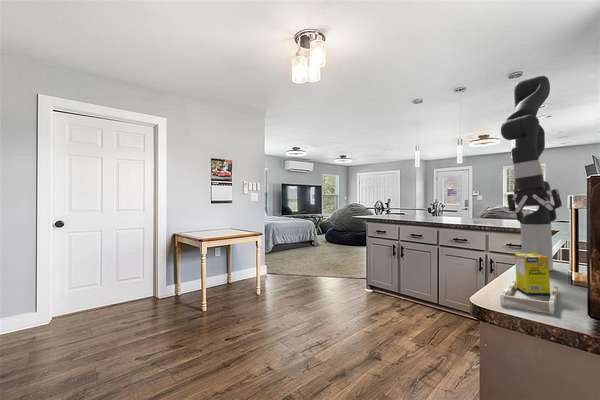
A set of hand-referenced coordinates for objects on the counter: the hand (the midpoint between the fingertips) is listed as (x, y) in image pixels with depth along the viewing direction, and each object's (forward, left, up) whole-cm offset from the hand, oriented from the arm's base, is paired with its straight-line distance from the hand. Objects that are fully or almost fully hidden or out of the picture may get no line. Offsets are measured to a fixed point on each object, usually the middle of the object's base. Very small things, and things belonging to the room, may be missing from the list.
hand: (536, 222), depth 102 cm
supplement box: (+20, 0, -19) cm, 28 cm away
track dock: (+26, 0, -19) cm, 32 cm away
